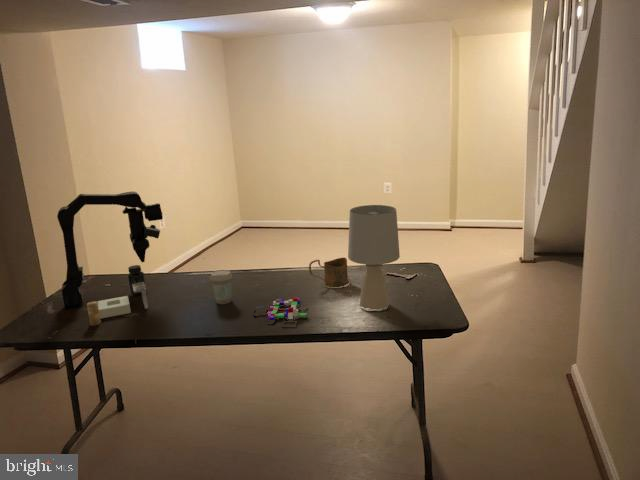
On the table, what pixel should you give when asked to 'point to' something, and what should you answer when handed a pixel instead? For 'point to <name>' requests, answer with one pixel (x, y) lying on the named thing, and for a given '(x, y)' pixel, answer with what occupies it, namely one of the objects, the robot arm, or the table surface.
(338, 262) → the mug
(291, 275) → the table surface
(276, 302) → the building block set
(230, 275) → the coffee cup
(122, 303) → the socket block
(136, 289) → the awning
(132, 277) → the supplement bottle
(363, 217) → the lamp
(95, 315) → the peg
